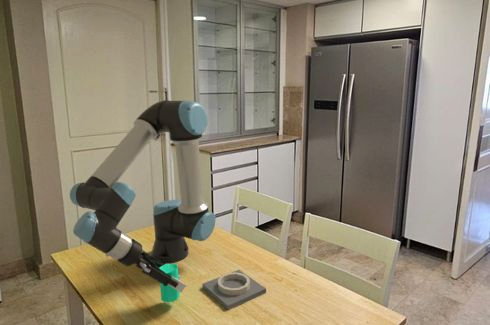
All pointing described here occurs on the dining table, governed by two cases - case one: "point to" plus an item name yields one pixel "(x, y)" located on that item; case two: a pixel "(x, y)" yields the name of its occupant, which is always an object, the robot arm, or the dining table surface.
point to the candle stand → (233, 289)
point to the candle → (167, 291)
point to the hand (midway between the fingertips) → (180, 284)
